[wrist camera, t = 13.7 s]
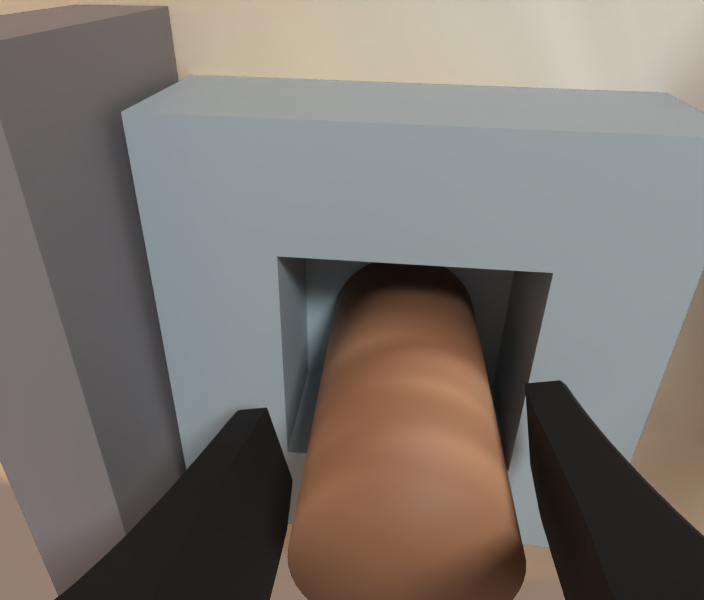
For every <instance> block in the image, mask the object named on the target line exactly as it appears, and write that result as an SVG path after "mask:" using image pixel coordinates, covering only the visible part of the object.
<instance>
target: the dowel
mask: <svg viewBox="0 0 704 600" xmlns="http://www.w3.org/2000/svg"><path fill="white" fill-rule="evenodd" d="M288 565H289V569H290V573H291V576H292V578H293V580H294V581H295V584H296V585H297V587H298V588H299V590H300V591H301V592H302V594H303V595H304V596H305V597H306V598H307V599H308V600H513V599H514V597H515V596H516V594H517V593H518V592H519V590H520V588H521V586H522V583H523V581H524V577H525V573H526V559H525V554H524V549H523V544H522V539H521V535H520V530H519V525H518V520H517V515H516V511H515V506H514V501H513V496H512V492H511V487H510V482H509V477H508V472H507V468H506V463H505V458H504V453H503V448H502V444H501V439H500V434H499V429H498V425H497V420H496V415H495V410H494V405H493V401H492V396H491V391H490V386H489V382H488V377H487V372H486V367H485V362H484V358H483V353H482V348H481V343H480V338H479V334H478V329H477V324H476V319H475V315H474V310H473V305H472V301H471V298H470V295H469V293H468V291H467V289H466V287H465V286H464V285H463V283H462V282H461V281H460V279H459V278H458V277H457V276H456V275H455V274H453V273H452V272H451V271H450V270H448V269H447V268H445V267H443V266H428V265H412V264H395V263H378V262H372V263H370V264H368V265H366V266H364V267H363V268H361V269H360V270H358V271H357V272H356V273H355V274H354V275H352V276H351V277H350V278H349V280H348V281H347V282H346V283H345V285H344V286H343V288H342V289H341V291H340V293H339V295H338V298H337V301H336V305H335V310H334V315H333V320H332V326H331V331H330V336H329V341H328V346H327V351H326V357H325V362H324V367H323V372H322V377H321V382H320V388H319V393H318V398H317V403H316V408H315V413H314V419H313V424H312V429H311V434H310V439H309V444H308V450H307V455H306V460H305V465H304V470H303V475H302V481H301V486H300V491H299V496H298V501H297V506H296V512H295V517H294V522H293V527H292V532H291V537H290V543H289V549H288Z"/></svg>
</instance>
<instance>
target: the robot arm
mask: <svg viewBox="0 0 704 600" xmlns="http://www.w3.org/2000/svg"><path fill="white" fill-rule="evenodd" d="M525 392H526V408H527V423H528V439H529V455H530V466H531V472H532V477H533V482H534V487H535V493H536V498H537V503H538V508H539V513H540V518H541V521H542V524H543V528H544V531H545V534H546V538H547V541H548V544H549V548H550V551H551V554H552V558H553V561H554V564H555V567H556V571H557V574H558V577H559V580H560V584H561V587H562V590H563V594H564V596H565V600H704V536H703V535H702V534H701V533H700V532H699V531H697V530H696V529H695V528H694V527H693V526H692V525H691V524H690V523H689V522H688V521H687V520H686V519H684V518H683V517H682V516H681V515H680V514H679V513H678V512H677V511H676V510H675V509H674V508H673V507H672V506H671V505H670V504H669V503H668V502H667V501H666V500H665V499H664V498H663V497H662V496H661V495H660V494H659V493H658V492H657V491H656V490H655V489H654V488H653V487H652V486H651V485H650V484H649V483H648V482H647V481H646V480H645V479H644V478H643V477H642V476H641V475H640V474H639V473H638V472H637V471H636V470H635V468H634V467H633V466H632V465H631V464H630V463H629V462H628V461H627V460H626V459H625V457H624V456H623V455H622V454H621V453H620V452H619V451H618V450H617V449H616V447H615V446H614V445H613V444H612V443H611V442H610V441H609V439H608V438H607V437H606V436H605V435H604V434H603V432H602V431H601V430H600V429H599V428H598V426H597V425H596V424H595V423H594V421H593V420H592V419H591V418H590V416H589V415H588V414H587V413H586V411H585V410H584V409H583V407H582V406H581V405H580V403H579V402H578V401H577V399H576V398H575V397H574V395H573V394H572V392H571V391H570V390H569V388H568V386H567V385H566V384H565V383H563V382H562V381H560V380H557V381H546V382H536V383H525ZM292 483H293V479H292V477H291V474H290V471H289V468H288V465H287V462H286V460H285V457H284V454H283V451H282V448H281V445H280V443H279V440H278V437H277V434H276V431H275V428H274V426H273V423H272V420H271V417H270V414H269V411H268V409H267V407H266V408H255V409H244V410H238V411H237V412H236V413H235V414H234V415H233V416H232V417H231V418H230V420H229V421H228V422H227V423H226V424H225V425H224V427H223V428H222V429H221V430H220V431H219V433H218V434H217V435H216V436H215V437H214V438H213V440H212V441H211V442H210V443H209V444H208V446H207V447H206V448H205V449H204V450H203V451H202V453H201V454H200V455H199V456H198V457H197V458H196V460H195V461H194V462H193V463H192V464H191V465H190V466H189V468H188V469H187V470H186V471H185V472H184V473H183V474H182V476H181V477H180V478H179V479H178V480H177V481H176V483H175V484H174V485H173V486H172V487H171V488H170V489H169V490H168V492H167V493H166V494H165V495H164V496H163V497H162V498H161V499H160V500H159V501H158V502H157V503H156V504H155V505H154V506H153V507H152V508H151V509H150V511H149V512H148V513H147V514H146V515H145V516H144V517H143V518H142V519H141V520H140V521H139V522H138V523H137V524H136V525H135V526H134V527H133V528H132V529H131V531H130V532H129V533H128V534H127V535H126V536H125V537H124V538H123V539H122V540H121V541H120V542H119V543H118V544H116V545H115V546H114V547H113V548H112V549H111V550H110V551H109V552H108V553H107V554H106V555H105V556H104V557H103V558H102V559H101V560H100V561H98V562H97V563H96V564H95V565H94V566H93V567H92V568H91V569H90V570H88V571H87V572H86V573H85V574H84V575H83V576H82V577H81V578H80V579H79V580H77V581H76V582H75V583H74V584H73V585H72V586H70V587H69V588H68V589H67V590H66V591H65V592H63V593H62V594H61V595H60V596H58V597H57V598H56V599H55V600H270V597H271V593H272V589H273V585H274V581H275V576H276V573H277V569H278V565H279V560H280V557H281V553H282V548H283V544H284V540H285V536H286V532H287V525H288V518H289V510H290V502H291V492H292Z"/></svg>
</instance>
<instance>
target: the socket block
mask: <svg viewBox="0 0 704 600" xmlns="http://www.w3.org/2000/svg"><path fill="white" fill-rule="evenodd" d="M121 115H122V121H123V126H124V132H125V137H126V143H127V148H128V154H129V159H130V165H131V170H132V175H133V181H134V186H135V192H136V197H137V203H138V208H139V214H140V219H141V225H142V230H143V236H144V241H145V247H146V252H147V258H148V263H149V268H150V274H151V279H152V285H153V290H154V296H155V301H156V307H157V312H158V318H159V323H160V329H161V334H162V340H163V345H164V351H165V356H166V361H167V367H168V372H169V378H170V383H171V389H172V394H173V400H174V405H175V411H176V416H177V422H178V427H179V433H180V438H181V443H182V449H183V454H184V460H185V465H186V470H187V469H188V468H189V466H190V465H191V464H192V463H193V462H194V461H195V460H196V458H197V457H198V456H199V455H200V454H201V453H202V451H203V450H204V449H205V448H206V447H207V446H208V444H209V443H210V442H211V441H212V440H213V438H214V437H215V436H216V435H217V434H218V433H219V431H220V430H221V429H222V428H223V427H224V425H225V424H226V423H227V422H228V421H229V420H230V418H231V417H232V416H233V415H234V414H235V413H236V412H237V411H238V410H244V409H255V408H266V407H267V409H268V411H269V414H270V417H271V420H272V423H273V426H274V428H275V431H276V434H277V437H278V440H279V443H280V445H281V448H282V451H283V454H284V457H285V460H286V462H287V465H288V468H289V471H290V474H291V477H292V479H293V483H292V492H291V502H290V510H289V518H288V523H291V524H293V522H294V517H295V512H296V506H297V501H298V496H299V491H300V486H301V481H302V475H303V470H304V465H305V460H306V455H307V450H308V444H309V439H310V434H311V429H312V424H313V419H314V413H315V408H316V403H317V398H318V393H319V388H320V382H321V377H322V372H323V367H324V362H325V357H326V351H327V346H328V341H329V336H330V331H331V326H332V320H333V315H334V310H335V305H336V301H337V298H338V295H339V293H340V291H341V289H342V288H343V286H344V285H345V283H346V282H347V281H348V280H349V278H350V277H351V276H352V275H354V274H355V273H356V272H357V271H358V270H360V269H361V268H363V267H364V266H366V265H368V264H370V263H372V262H378V263H395V264H412V265H428V266H443V267H445V268H447V269H448V270H450V271H451V272H452V273H453V274H455V275H456V276H457V277H458V278H459V279H460V281H461V282H462V283H463V285H464V286H465V287H466V289H467V291H468V293H469V295H470V298H471V301H472V305H473V310H474V315H475V319H476V324H477V329H478V334H479V338H480V343H481V348H482V353H483V358H484V362H485V367H486V372H487V377H488V382H489V386H490V391H491V396H492V401H493V405H494V410H495V415H496V420H497V425H498V429H499V434H500V439H501V444H502V448H503V453H504V458H505V463H506V468H507V472H508V477H509V482H510V487H511V492H512V496H513V501H514V506H515V511H516V515H517V520H518V525H519V530H520V535H521V539H522V544H523V545H526V546H537V547H548V548H549V544H548V541H547V538H546V534H545V531H544V528H543V524H542V521H541V518H540V513H539V508H538V503H537V498H536V493H535V487H534V482H533V477H532V472H531V466H530V455H529V439H528V423H527V408H526V392H525V383H536V382H546V381H557V380H560V381H562V382H563V383H565V384H566V385H567V386H568V388H569V390H570V391H571V392H572V394H573V395H574V397H575V398H576V399H577V401H578V402H579V403H580V405H581V406H582V407H583V409H584V410H585V411H586V413H587V414H588V415H589V416H590V418H591V419H592V420H593V421H594V423H595V424H596V425H597V426H598V428H599V429H600V430H601V431H602V432H603V434H604V435H605V436H606V437H607V438H608V439H609V441H610V442H611V443H612V444H613V445H614V446H615V447H616V449H617V450H618V451H619V452H620V453H621V454H622V455H623V456H624V457H625V459H626V460H627V461H628V462H629V463H631V460H632V458H633V455H634V452H635V450H636V447H637V444H638V442H639V439H640V436H641V434H642V431H643V428H644V426H645V423H646V420H647V418H648V415H649V412H650V410H651V407H652V405H653V402H654V399H655V397H656V394H657V391H658V389H659V386H660V383H661V381H662V378H663V375H664V373H665V370H666V367H667V365H668V362H669V359H670V357H671V354H672V351H673V349H674V346H675V343H676V341H677V338H678V335H679V333H680V330H681V327H682V325H683V322H684V320H685V317H686V314H687V312H688V309H689V306H690V304H691V301H692V298H693V296H694V293H695V290H696V288H697V285H698V282H699V280H700V277H701V274H702V272H703V269H704V113H703V112H701V111H700V110H698V109H696V108H694V107H692V106H690V105H688V104H687V103H685V102H683V101H681V100H679V99H677V98H675V97H674V96H672V95H670V94H668V93H660V92H633V91H607V90H581V89H554V88H528V87H501V86H475V85H448V84H422V83H395V82H369V81H343V80H316V79H290V78H263V77H237V76H210V75H190V76H188V77H186V78H185V79H183V80H181V81H179V82H177V83H175V84H173V85H171V86H169V87H167V88H166V89H164V90H162V91H160V92H158V93H156V94H154V95H152V96H150V97H148V98H146V99H145V100H143V101H141V102H139V103H137V104H135V105H133V106H131V107H129V108H127V109H126V110H124V111H122V112H121Z"/></svg>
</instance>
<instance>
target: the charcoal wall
mask: <svg viewBox="0 0 704 600" xmlns="http://www.w3.org/2000/svg"><path fill="white" fill-rule="evenodd" d="M177 82H178V75H177V68H176V60H175V53H174V46H173V39H172V32H171V25H170V18H169V11H168V6H120V5H70V6H63V7H56V8H49V9H42V10H35V11H28V12H21V13H14V14H7V15H0V462H1V464H2V466H3V469H4V471H5V473H6V476H7V478H8V480H9V483H10V485H11V487H12V489H13V492H14V494H15V496H16V499H17V501H18V503H19V506H20V508H21V510H22V513H23V515H24V517H25V520H26V522H27V524H28V527H29V529H30V531H31V533H32V536H33V538H34V540H35V543H36V545H37V547H38V549H39V552H40V554H41V556H42V559H43V561H44V563H45V566H46V568H47V571H48V573H49V575H50V577H51V580H52V582H53V584H54V587H55V589H56V591H57V593H58V596H60V595H61V594H62V593H63V592H65V591H66V590H67V589H68V588H69V587H70V586H72V585H73V584H74V583H75V582H76V581H77V580H79V579H80V578H81V577H82V576H83V575H84V574H85V573H86V572H87V571H88V570H90V569H91V568H92V567H93V566H94V565H95V564H96V563H97V562H98V561H100V560H101V559H102V558H103V557H104V556H105V555H106V554H107V553H108V552H109V551H110V550H111V549H112V548H113V547H114V546H115V545H116V544H118V543H119V542H120V541H121V540H122V539H123V538H124V537H125V536H126V535H127V534H128V533H129V532H130V531H131V529H132V528H133V527H134V526H135V525H136V524H137V523H138V522H139V521H140V520H141V519H142V518H143V517H144V516H145V515H146V514H147V513H148V512H149V511H150V509H151V508H152V507H153V506H154V505H155V504H156V503H157V502H158V501H159V500H160V499H161V498H162V497H163V496H164V495H165V494H166V493H167V492H168V490H169V489H170V488H171V487H172V486H173V485H174V484H175V483H176V481H177V480H178V479H179V478H180V477H181V476H182V474H183V473H184V472H185V471H186V465H185V460H184V454H183V449H182V443H181V438H180V433H179V427H178V422H177V416H176V411H175V405H174V400H173V394H172V389H171V383H170V378H169V372H168V367H167V361H166V356H165V351H164V345H163V340H162V334H161V329H160V323H159V318H158V312H157V307H156V301H155V296H154V290H153V285H152V279H151V274H150V268H149V263H148V258H147V252H146V247H145V241H144V236H143V230H142V225H141V219H140V214H139V208H138V203H137V197H136V192H135V186H134V181H133V175H132V170H131V165H130V159H129V154H128V148H127V143H126V137H125V132H124V126H123V121H122V115H121V112H122V111H124V110H126V109H127V108H129V107H131V106H133V105H135V104H137V103H139V102H141V101H143V100H145V99H146V98H148V97H150V96H152V95H154V94H156V93H158V92H160V91H162V90H164V89H166V88H167V87H169V86H171V85H173V84H175V83H177Z"/></svg>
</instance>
